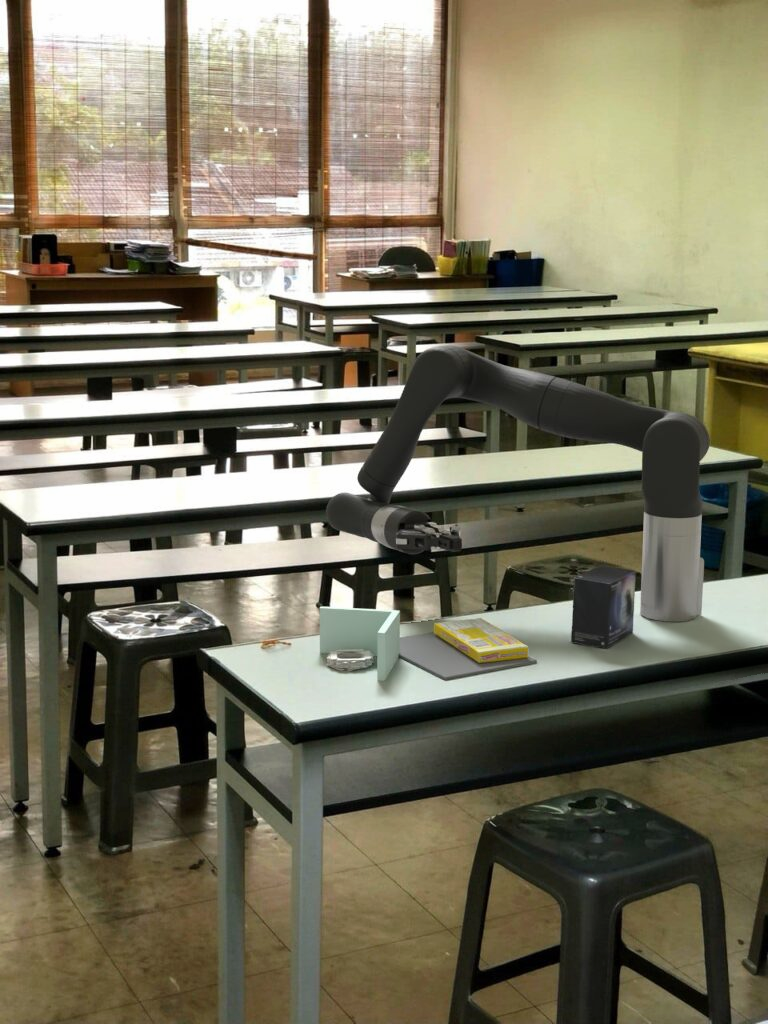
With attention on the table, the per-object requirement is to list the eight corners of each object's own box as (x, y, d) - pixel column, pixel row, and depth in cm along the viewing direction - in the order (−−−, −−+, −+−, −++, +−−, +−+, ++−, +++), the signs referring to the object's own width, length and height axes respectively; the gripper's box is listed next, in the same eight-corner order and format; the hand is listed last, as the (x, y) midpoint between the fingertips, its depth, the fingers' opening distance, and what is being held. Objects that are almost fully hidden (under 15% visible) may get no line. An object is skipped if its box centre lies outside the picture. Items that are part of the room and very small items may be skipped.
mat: (461, 629, 211) (461, 627, 211) (536, 662, 194) (536, 660, 194) (374, 644, 203) (374, 641, 203) (445, 680, 186) (445, 677, 186)
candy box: (480, 630, 210) (432, 633, 207) (481, 617, 209) (433, 620, 206) (528, 660, 195) (477, 664, 192) (529, 646, 194) (478, 649, 191)
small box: (608, 650, 200) (611, 582, 198) (569, 643, 204) (571, 577, 202) (635, 633, 209) (638, 568, 207) (597, 627, 213) (599, 563, 211)
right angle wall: (321, 654, 200) (320, 606, 198) (399, 659, 198) (399, 610, 196) (301, 679, 188) (301, 628, 187) (384, 684, 186) (384, 633, 185)
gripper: (367, 511, 223) (422, 527, 209) (433, 502, 230) (491, 517, 215) (368, 555, 225) (423, 573, 210) (434, 545, 231) (492, 562, 217)
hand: (457, 545), depth 213 cm, fingers closed
